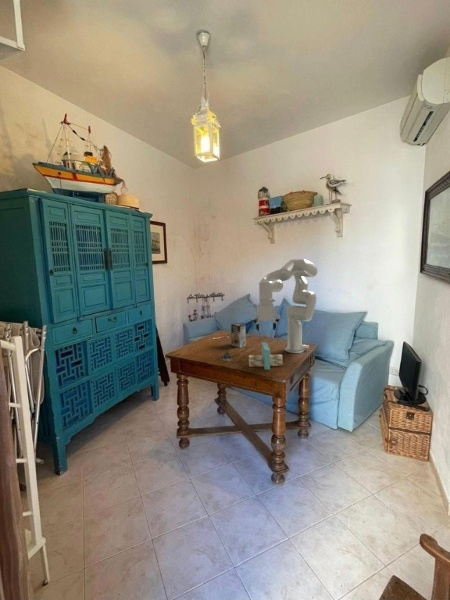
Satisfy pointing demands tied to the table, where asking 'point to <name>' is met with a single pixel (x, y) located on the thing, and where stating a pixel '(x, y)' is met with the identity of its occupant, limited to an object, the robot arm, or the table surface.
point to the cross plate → (266, 356)
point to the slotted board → (257, 361)
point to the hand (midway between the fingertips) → (266, 329)
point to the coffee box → (238, 335)
